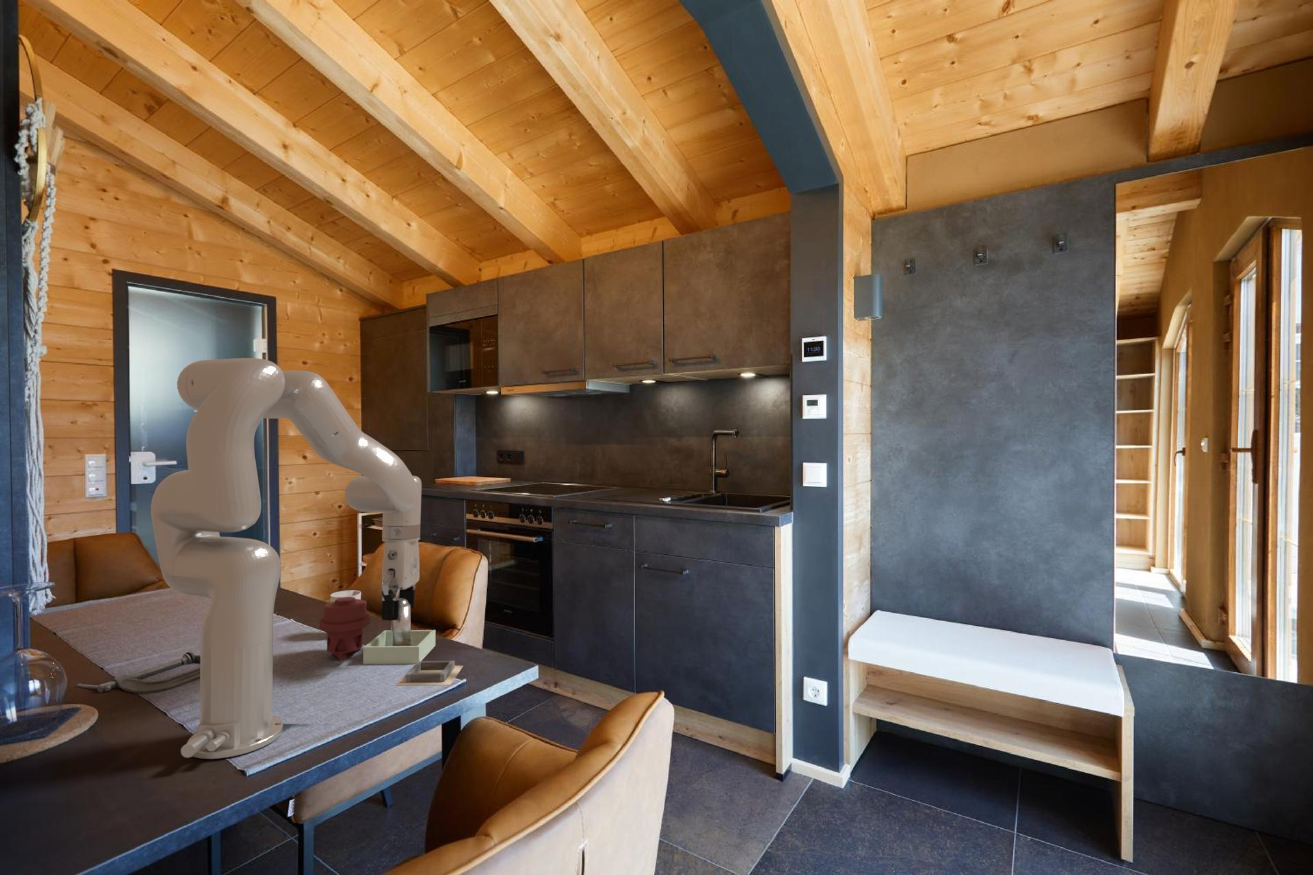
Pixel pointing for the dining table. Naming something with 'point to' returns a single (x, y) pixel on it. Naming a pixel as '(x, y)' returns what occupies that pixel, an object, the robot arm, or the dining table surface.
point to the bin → (399, 648)
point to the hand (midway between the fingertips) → (398, 613)
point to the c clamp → (144, 687)
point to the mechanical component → (344, 626)
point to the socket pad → (430, 673)
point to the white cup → (346, 594)
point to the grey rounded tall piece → (402, 625)
